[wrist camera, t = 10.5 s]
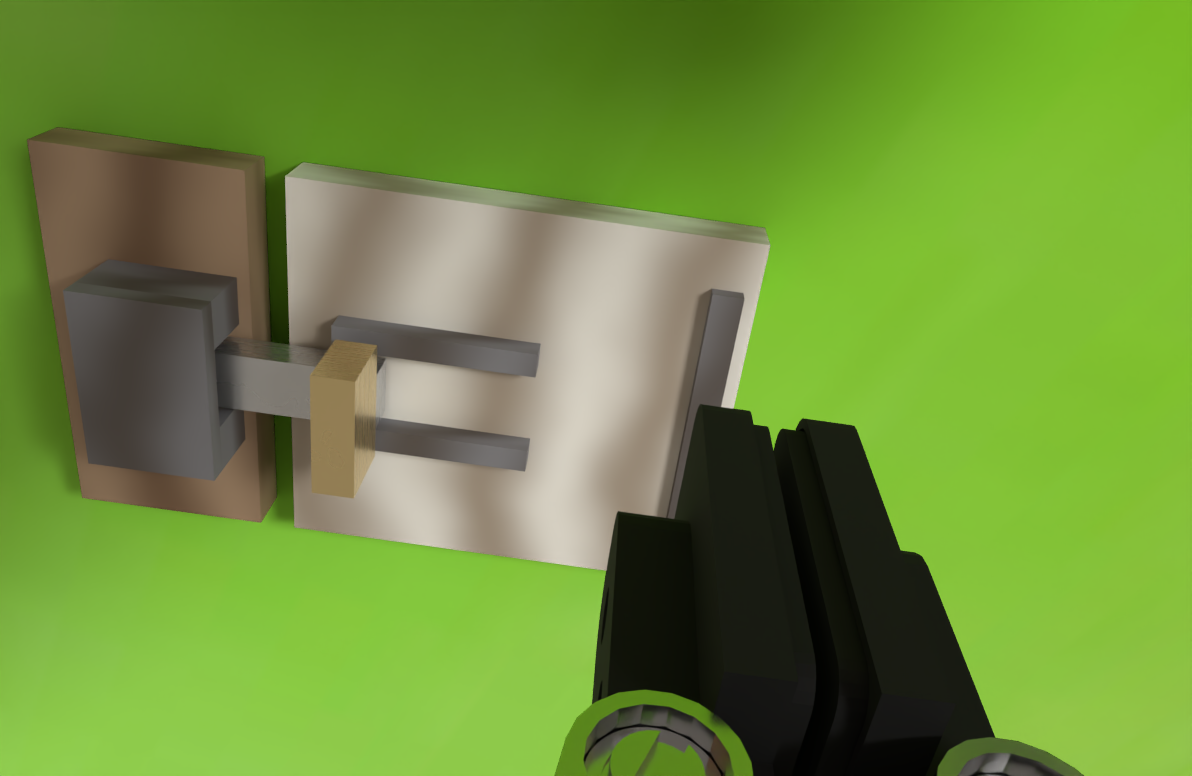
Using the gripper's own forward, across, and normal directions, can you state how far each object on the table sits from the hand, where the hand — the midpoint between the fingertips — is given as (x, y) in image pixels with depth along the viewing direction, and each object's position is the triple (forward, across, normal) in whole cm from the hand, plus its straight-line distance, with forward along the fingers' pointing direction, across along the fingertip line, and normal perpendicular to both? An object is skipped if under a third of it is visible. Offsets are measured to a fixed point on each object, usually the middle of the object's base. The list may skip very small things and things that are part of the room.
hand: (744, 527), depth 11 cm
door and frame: (+27, +10, +13) cm, 32 cm away
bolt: (+25, +15, +13) cm, 32 cm away
